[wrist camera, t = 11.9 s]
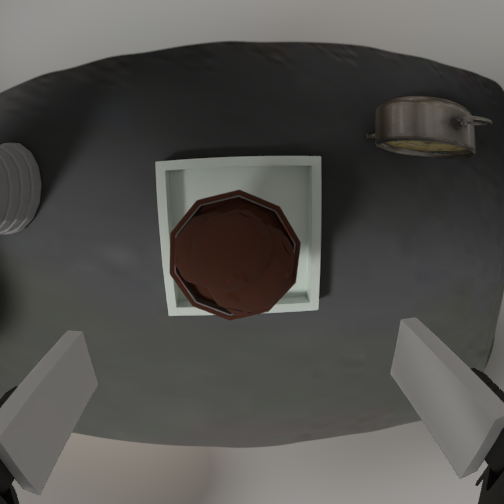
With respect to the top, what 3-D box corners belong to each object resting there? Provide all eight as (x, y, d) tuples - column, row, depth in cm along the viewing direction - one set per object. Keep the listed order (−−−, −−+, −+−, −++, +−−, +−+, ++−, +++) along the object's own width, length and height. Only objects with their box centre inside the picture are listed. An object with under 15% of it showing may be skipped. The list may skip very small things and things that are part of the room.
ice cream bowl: (167, 242, 35) (122, 291, 21) (231, 164, 33) (225, 160, 19) (239, 300, 37) (240, 377, 23) (304, 228, 35) (348, 268, 21)
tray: (172, 306, 38) (168, 315, 35) (161, 162, 33) (155, 161, 31) (313, 301, 38) (318, 310, 36) (315, 157, 34) (321, 156, 31)
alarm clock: (356, 148, 34) (435, 139, 18) (356, 104, 32) (433, 67, 17) (432, 160, 34) (525, 164, 19) (433, 119, 33) (524, 105, 17)
